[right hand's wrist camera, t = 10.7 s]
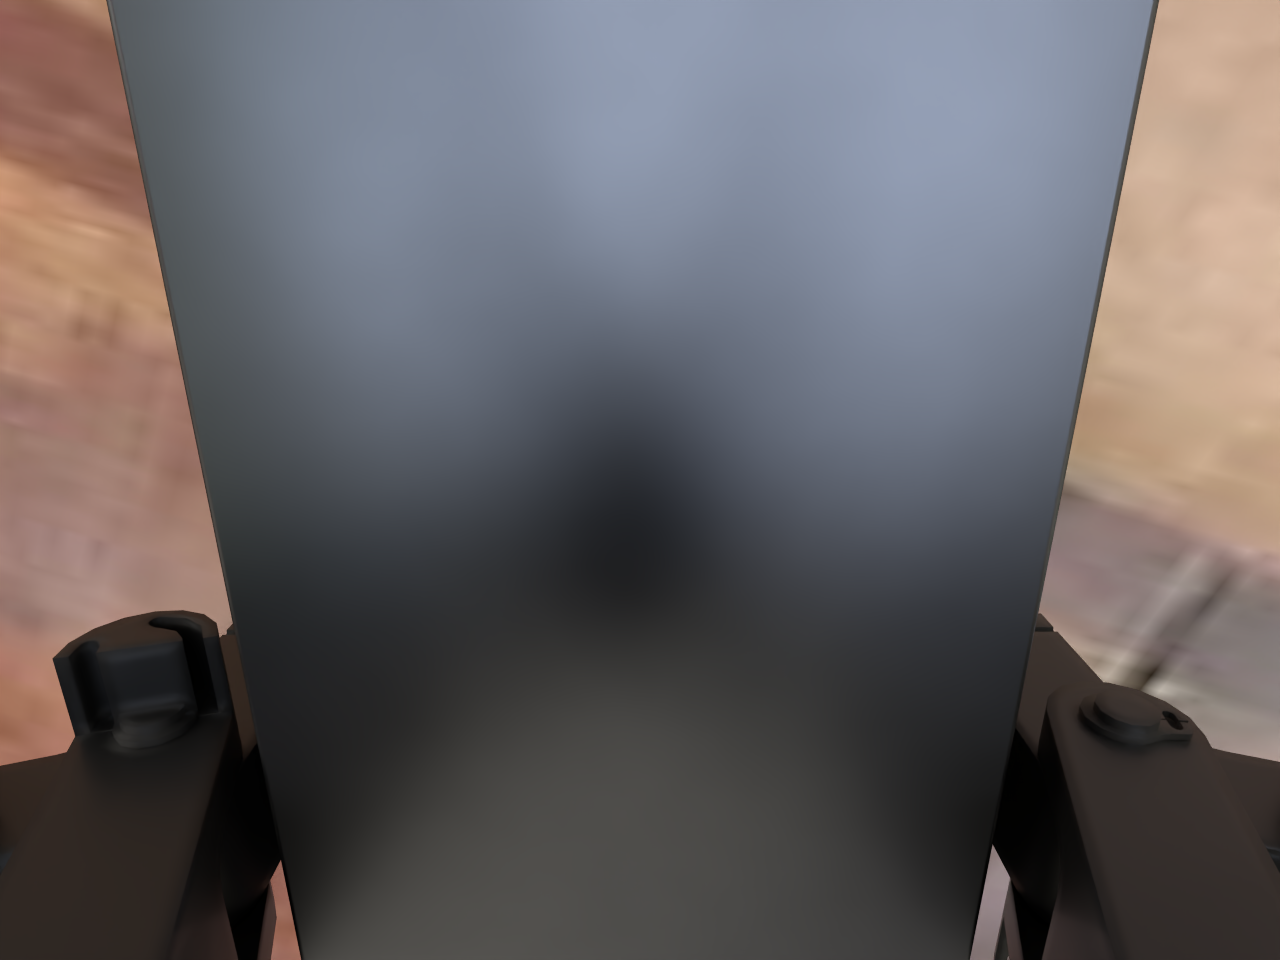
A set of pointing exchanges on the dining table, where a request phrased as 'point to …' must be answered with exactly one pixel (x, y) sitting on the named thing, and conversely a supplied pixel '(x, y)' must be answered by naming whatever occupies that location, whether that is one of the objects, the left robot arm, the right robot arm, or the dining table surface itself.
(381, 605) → the bar
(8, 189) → the dining table surface
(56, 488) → the dining table surface
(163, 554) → the dining table surface
